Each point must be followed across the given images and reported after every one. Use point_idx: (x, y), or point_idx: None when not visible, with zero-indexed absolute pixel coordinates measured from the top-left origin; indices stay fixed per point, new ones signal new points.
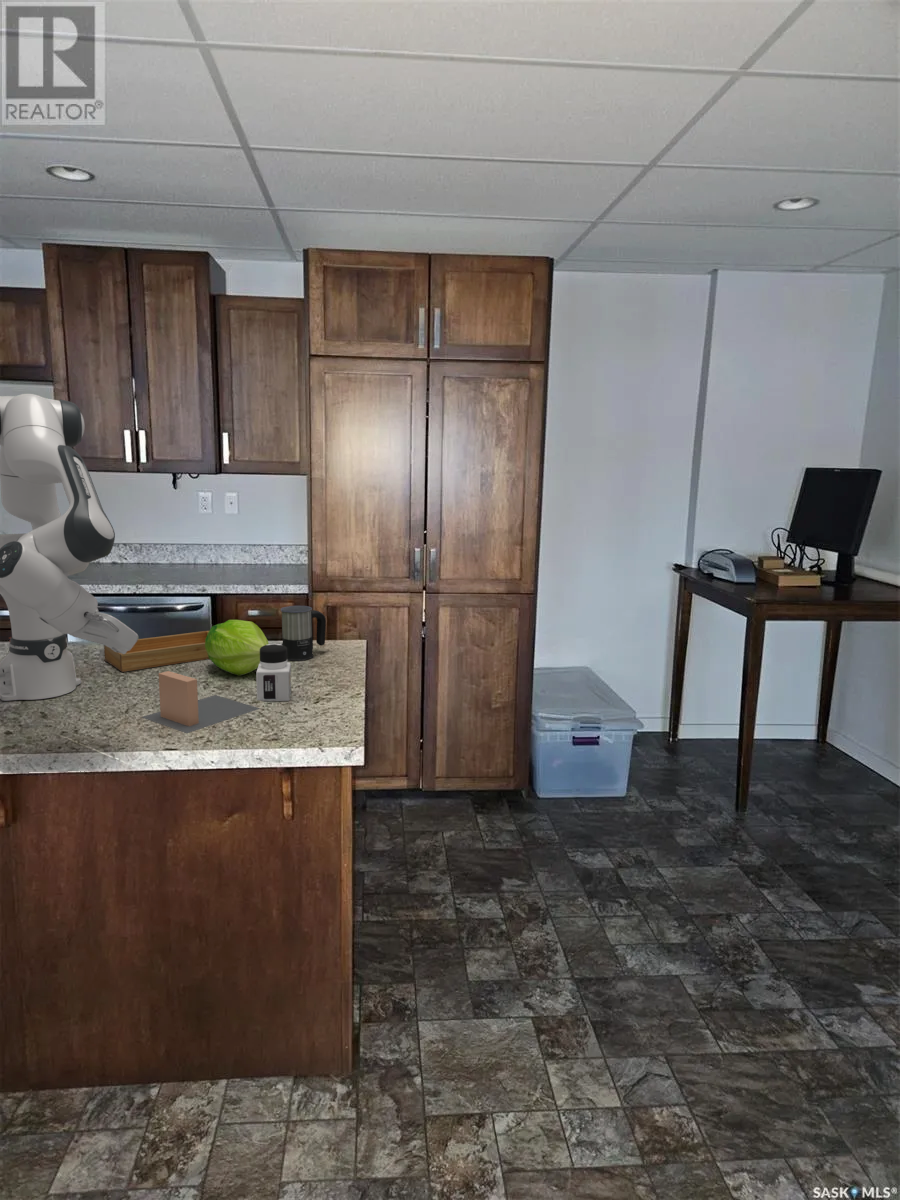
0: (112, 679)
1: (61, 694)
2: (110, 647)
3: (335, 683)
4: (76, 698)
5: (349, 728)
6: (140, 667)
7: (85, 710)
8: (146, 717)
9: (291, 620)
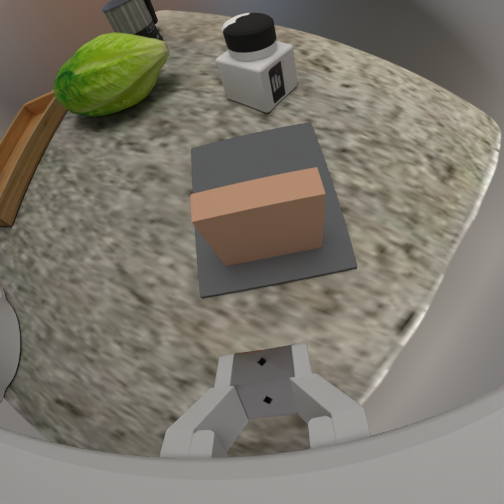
0: (18, 247)
1: (19, 338)
2: (243, 425)
3: None
4: (38, 328)
5: (446, 93)
6: (19, 200)
7: (88, 350)
8: (209, 290)
9: (129, 10)
